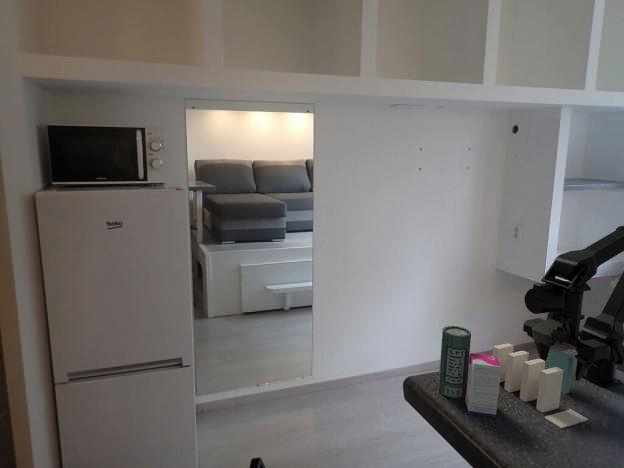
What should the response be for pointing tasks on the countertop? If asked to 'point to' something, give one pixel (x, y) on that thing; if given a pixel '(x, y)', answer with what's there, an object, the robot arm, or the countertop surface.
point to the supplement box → (483, 384)
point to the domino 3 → (531, 379)
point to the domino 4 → (549, 389)
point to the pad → (566, 418)
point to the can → (454, 361)
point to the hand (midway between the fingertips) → (559, 371)
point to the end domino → (562, 367)
